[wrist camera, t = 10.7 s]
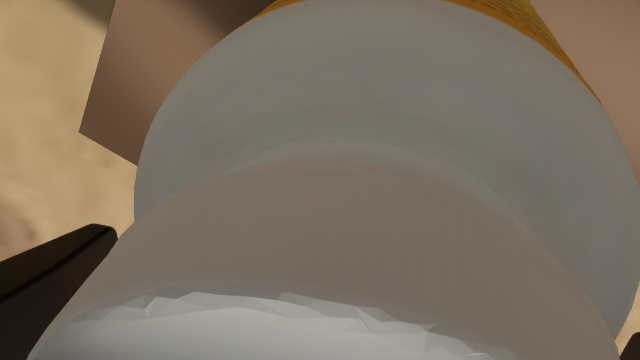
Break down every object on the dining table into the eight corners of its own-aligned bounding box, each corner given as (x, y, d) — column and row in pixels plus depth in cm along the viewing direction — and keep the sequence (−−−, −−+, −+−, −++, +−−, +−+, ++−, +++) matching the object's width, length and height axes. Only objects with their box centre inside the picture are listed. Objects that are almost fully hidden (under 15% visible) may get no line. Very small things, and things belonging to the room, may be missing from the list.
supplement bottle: (516, 176, 12) (654, 786, 4) (298, 161, 13) (60, 616, 5) (563, -78, 9) (1316, 238, 1) (281, -69, 10) (-296, 125, 2)
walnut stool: (333, -409, 11) (273, -560, 7) (799, -74, 12) (959, -51, 8) (156, 78, 18) (78, 132, 14) (460, 259, 19) (463, 354, 15)
